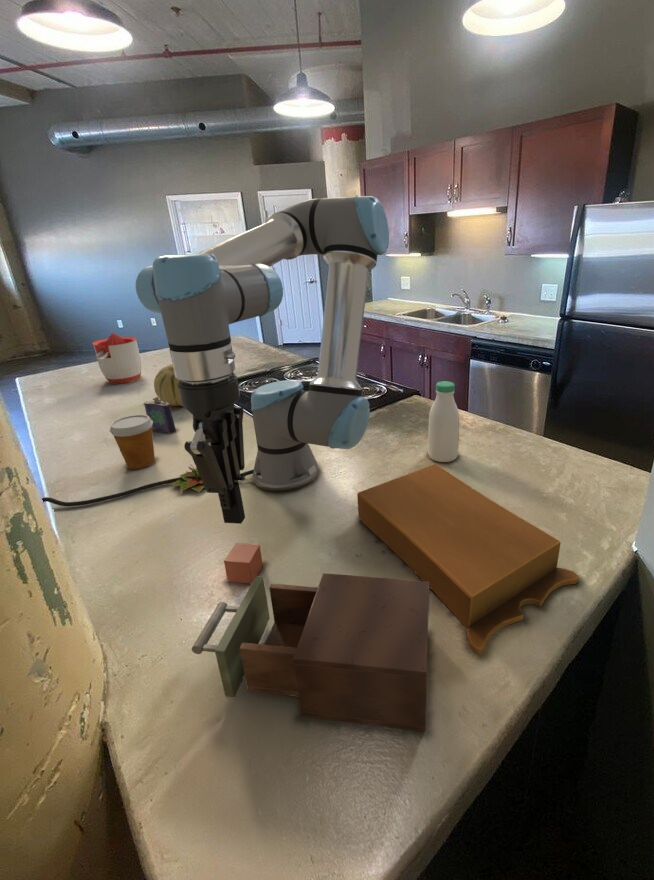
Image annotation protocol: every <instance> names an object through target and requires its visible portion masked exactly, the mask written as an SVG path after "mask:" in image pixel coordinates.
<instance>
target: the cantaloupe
mask: <svg viewBox="0 0 654 880" xmlns="http://www.w3.org/2000/svg"><path fill="white" fill-rule="evenodd" d="M179 381H180V380H179V379H177V378H176V377H175V374H174V369H173V364H172V363H171V364H167V365H166V366H163V367H162V368H161V369H160V370H159V371H158V372H157V373H156V375H155V377H154V381H153V388H154V392H155V395H156V397H158V396H159V397H158V398H159V400H162V401H161V402H166V403H169V404H170V406H173V407H178V406H179V407H183V406H182V403H181V399H180V394H179V390H178V386H177V384H178V382H179Z"/></svg>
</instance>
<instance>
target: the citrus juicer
mask: <svg viewBox="0 0 654 880" xmlns="http://www.w3.org/2000/svg"><path fill="white" fill-rule="evenodd" d="M92 346H93V348H94V352H95V359H96V360H97V363H98V366H99V369H100V371H101V373H102V375H103V376H104V378H105V379H106V381H107V382H108V383H110V384H128V383H130V382H135V381H137V380H139V379H141V375H142V359H141V354H140V350H139V346H138V342H137V337H135V336H119V335H118V334H116V333H114V332H113V333H111V334H110V335H109V337H108V338H103V339H98V340H96V341H93V342H92Z"/></svg>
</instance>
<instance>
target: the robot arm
mask: <svg viewBox="0 0 654 880" xmlns="http://www.w3.org/2000/svg"><path fill="white" fill-rule="evenodd" d="M389 230H390V229H389V223H388V218H387V213H386V211H385V209H384V206H383V205H382V202H381V201H380V200H379V199H378V197H375V196H373V195H359V194H356V195H355V196H340V197H323V198H321V197H319V198H318V197H317V198H310V199H307V200H303V201H300V202H298V203H295V204H292V205H290V206H288V207H285V208H283V209H282V210H279V211H277V212H274V213H272V214H271V215H269V216H268V217H267V218H266V219H265V221H264V223H263V224H261V225H259V226H256V227H253V228H252V229H250V230H247V231H245V232H242V233H240V234H238V235H235V236H234V237H231V238H229V239H227V240H224V241H222V242H220V243H217V244H215V245H213V246H211V247H209V248H205V249H204V250H202V251H200V252H197V253H191V254H190V253H188V254H168V255H167V254H166V255H160V256H158V257H155V259H154V260H153V262H152V265H148V266H146V267H144V268H142V269H141V270H140V272H139V273H138V274H137V275H136V279H135V291H136V292H135V293H136V295H137V298H138V300H139V302H140V303H141V304H142V305H143V307H145V309H147V310H148V311H151V312H153V313H156V314H160V315H161V318H162V319H161V320H162V322H163V327H164V331H165V334H166V335H165V336H166V339H167V343H168V344H167V345H168V348H169V354H170V359H171V364H173V369H174V374H175V377H176V378H177V379H179V380H180V381H179V382H178V384H177V386H178V390H179V394H180V399H181V403H182V406H181V407H182V408H183V409H185V410H186V411H188V412H189V413H190V414H191V415H192V429H193V431H194V432H195V433H194V435H193V438H192V439H191V440H187V441H185V442H184V446H183V447H184V450H185V451H186V452H187V453H188V454H189V455H190V456H191V458H192V460H193V463H194V465H195V467H197V470H198V472H199V474H200V479H202V481H203V484H204V486H205V487H204V488H205V491H206V493H207V494H217V495H218V501H219V504H220V508H221V513H222V518H223V522H224V524H239V525H240V524H241V525H242V523H243V522H244V521H245V518H246V514H245V509H244V502H243V498H242V492H241V487H240V481H244V480H245V479H246V476H250V475H253V482H254V483H255V485H256V486H257V487H258V488H260V489H262V490H265V491H269V492H288V491H293V490H297V489H300V488H303V487H304V486H307V485H308V484H310V483H311V482H313V481H314V480H315V479H316V477H317V476H318V473H319V468H318V461H317V459H316V457H315V456H314V455H315V454H314V453H313V451H312V449H311V447H310V445H314V446H322V447H326V448H329V449H331V450H332V449H333V450H334V449H339V450H350V449H353V448H354V447H356V446H357V445H358V444H359V443H360V442H361V440H362V439H363V437H364V436H365V433H366V431H367V428H368V425H369V420H370V416H371V409H370V407H371V406H370V402H369V400H368V399H367V398H366V397H365V396H363V387H362V386H361V385H360V384H359V382H358V379H357V378H358V370H359V361H360V352H361V343H362V335H363V327H364V326H363V325H364V317H365V307H366V299H367V289H368V282H369V281H368V280H369V273H370V272H371V271H373V269H374V268H376V266H377V263H378V256H383V255H384V254H387V252H388V249H389V243H390V231H389ZM308 255H310V256H311V255H320V256H321V255H322V258H323V261H325V263H326V265H328V273H327V283H326V292H325V293H326V294H325V303H324V312H323V318H322V319H323V321H322V329H321V339H320V348H319V358H318V367H317V375H316V376H315V378H313V379H312V380H311V381H310V382H309V386H308V390H304V384H303V383H302V381H300V380H297V379H284V380H278V381H273V382H269V383H267V384H263V385H261V386H259V387H257V388H255V389H254V390H253V391H252V393H251V394H250V395H251V396H250V403H251V408H250V410H251V413H252V420H253V427H254V433H255V439H256V446H257V447H256V448H257V451H256V457H255V461H254V466H253V469H250V470H247V471H244V470H245V466H246V465H245V448H244V447H245V446H244V445H245V443H244V426H243V422H244V421H243V420H244V413H245V411H244V410H245V409H244V406H235V405H236V404H237V403H238V402H239V401H240V398H241V392H240V391H241V390H240V386H239V380H238V379H239V378H238V376H237V374H235V372H234V371H235V370H236V365H235V358H236V353H235V352H234V351H233V346H232V337H231V330H230V325H232V324H235V323H239V322H242V321H245V320H250V319H254V318H257V317H263V316H265V315H267V314H269V313H271V312H273V311H275V310H277V309H278V308H279V307H280V305H281V303H282V301H283V297H284V286H283V282H282V279H281V278H280V275H279V274H278V273H277V272H276V270H274V268H272V266H274V265H275V264H278V263H279V262H281V261H283V260H285V261H289V260H294V259H297V258H298V257H300V256H308ZM241 471H244V472H241ZM198 476H199V475H198ZM195 477H196V476H195ZM195 477H194V476H186V477H185V478H190V479H196V478H195ZM180 479H181V480H184V479H182V478H181V477H174V478H169V479H165V480H161V481H156V482H153V483H149V484H144V485H141V486H138V487H135V488H131V489H128V490H125V491H122V492H118V493H113V494H109V495H104V496H101V497H96V498H92V499H91V498H90V499H86V500H78V501H70V502H68V501H62V500H60V499H59V500H58V499H56V498H53V497H48V496H45V497H42V498H41V499H42V500H43V503H45V502H47V503H51V504H54V505H57V506H61V507H78V506H79V507H80V506H85V505H86V506H87V505H92V504H96V503H101V502H105V501H109V500H113V499H117V498H121V497H122V498H123V497H125V496H128V495H132V494H134V493H137V492H138V493H139V492H141V491H144V490H147V489H151V488H156V487H159V486H165V485H169V484H173V483H174V482H176V481H177V480H180ZM198 479H199V477H198Z"/></svg>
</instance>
